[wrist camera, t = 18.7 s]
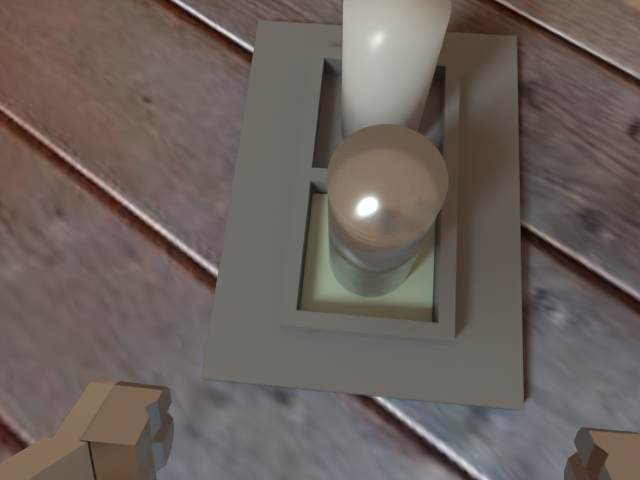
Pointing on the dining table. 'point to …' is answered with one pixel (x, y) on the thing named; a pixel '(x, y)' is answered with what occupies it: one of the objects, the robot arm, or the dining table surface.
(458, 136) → the grey holder tray
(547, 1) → the dining table surface
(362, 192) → the cylinder
